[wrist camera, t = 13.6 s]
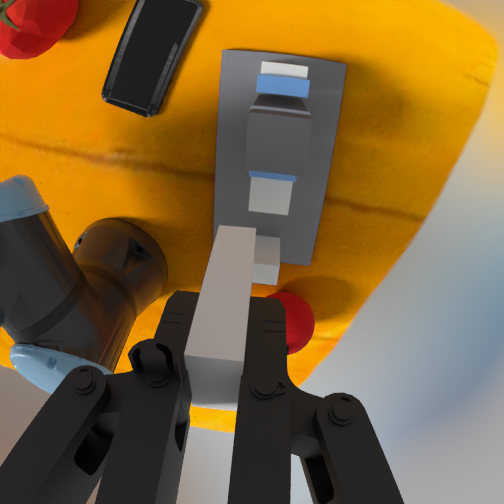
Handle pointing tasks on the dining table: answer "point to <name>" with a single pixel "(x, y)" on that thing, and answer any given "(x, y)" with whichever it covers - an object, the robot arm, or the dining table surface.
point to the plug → (277, 136)
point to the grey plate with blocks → (272, 184)
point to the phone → (149, 53)
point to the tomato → (33, 25)
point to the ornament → (296, 321)
